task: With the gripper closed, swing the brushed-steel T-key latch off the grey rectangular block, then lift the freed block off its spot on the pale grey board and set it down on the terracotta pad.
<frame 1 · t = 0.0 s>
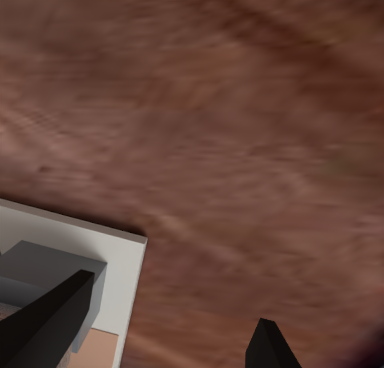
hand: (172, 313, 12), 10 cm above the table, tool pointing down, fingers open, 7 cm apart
grey rectangular block: (61, 277, 23), point 1 cm above the table, touching board
board: (53, 302, 25), on the table
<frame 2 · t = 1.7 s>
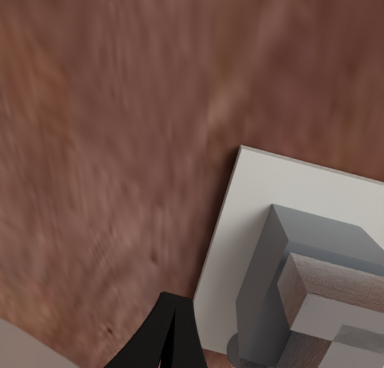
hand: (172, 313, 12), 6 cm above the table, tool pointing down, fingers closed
latch: (294, 360, 14), point 5 cm above the table, hinge at 0.0°
grey rectangular block: (293, 266, 17), point 1 cm above the table, touching board
board: (345, 286, 18), on the table
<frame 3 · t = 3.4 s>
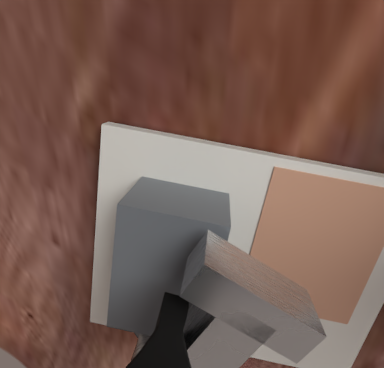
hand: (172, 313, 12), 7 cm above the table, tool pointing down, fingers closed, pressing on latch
latch: (186, 336, 14), point 5 cm above the table, hinge at -22.0°, touching gripper
grey rectangular block: (176, 238, 17), point 1 cm above the table, touching board
board: (237, 256, 18), on the table
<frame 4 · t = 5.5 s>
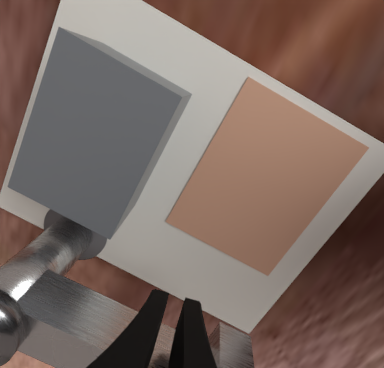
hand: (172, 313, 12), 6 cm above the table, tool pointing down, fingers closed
latch: (117, 309, 14), point 5 cm above the table, hinge at -88.6°, touching gripper
grey rectangular block: (120, 130, 15), point 1 cm above the table, touching board
board: (180, 176, 17), on the table
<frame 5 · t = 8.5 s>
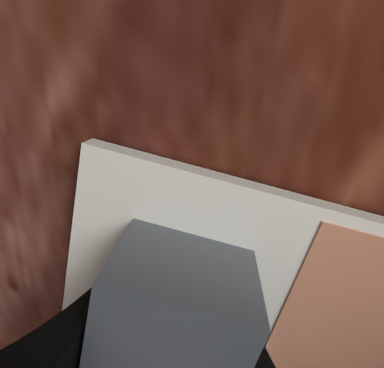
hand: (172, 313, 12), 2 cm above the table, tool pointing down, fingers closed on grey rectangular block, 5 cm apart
grey rectangular block: (174, 301, 13), point 1 cm above the table, touching board, gripper
board: (252, 324, 14), on the table
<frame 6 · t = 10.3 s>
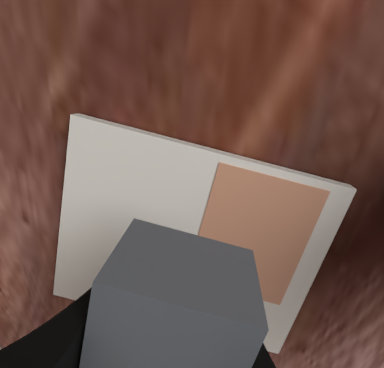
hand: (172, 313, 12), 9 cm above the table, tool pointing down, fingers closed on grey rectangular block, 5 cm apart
grey rectangular block: (174, 300, 13), point 8 cm above the table, touching gripper
board: (188, 241, 21), on the table
when the fingers open (3 cm above the table, at t = 12.3 s): grey rectangular block stays where it is, resting on board.
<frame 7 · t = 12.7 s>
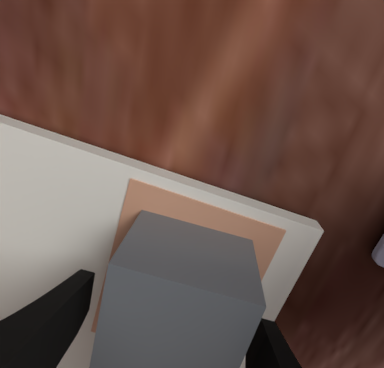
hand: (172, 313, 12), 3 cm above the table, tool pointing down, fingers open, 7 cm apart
grey rectangular block: (178, 287, 14), point 1 cm above the table, touching board
board: (99, 278, 15), on the table
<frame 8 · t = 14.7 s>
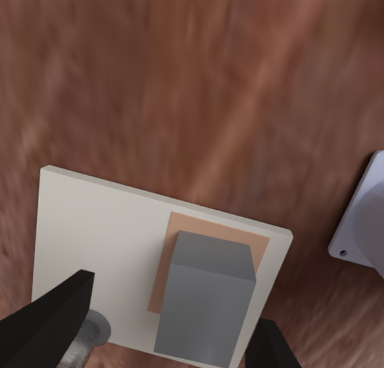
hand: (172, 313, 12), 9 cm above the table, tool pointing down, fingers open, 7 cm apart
grey rectangular block: (204, 277, 21), point 1 cm above the table, touching board
board: (150, 275, 23), on the table
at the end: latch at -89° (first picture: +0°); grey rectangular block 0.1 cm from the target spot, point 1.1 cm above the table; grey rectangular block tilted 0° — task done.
